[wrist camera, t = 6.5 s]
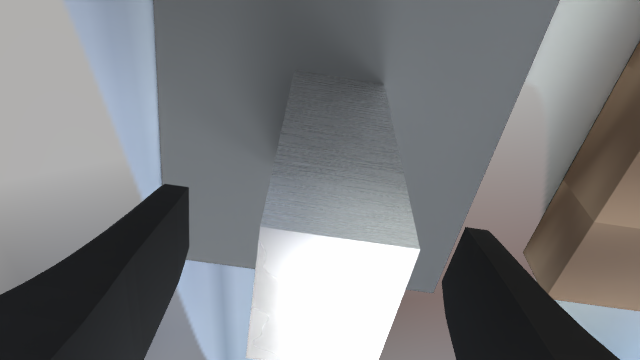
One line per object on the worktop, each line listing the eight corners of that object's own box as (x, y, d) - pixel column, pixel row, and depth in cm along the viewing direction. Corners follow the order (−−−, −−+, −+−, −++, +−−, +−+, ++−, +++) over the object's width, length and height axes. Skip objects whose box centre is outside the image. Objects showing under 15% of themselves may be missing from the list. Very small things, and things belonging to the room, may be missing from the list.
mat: (432, 291, 21) (433, 293, 21) (166, 255, 20) (165, 257, 20) (577, -46, 13) (579, -46, 13) (148, -125, 12) (147, -124, 12)
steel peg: (384, 84, 15) (420, 249, 8) (359, 182, 17) (373, 373, 11) (294, 69, 15) (260, 226, 8) (281, 170, 17) (245, 357, 11)
